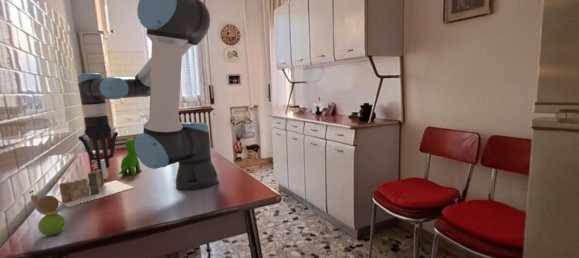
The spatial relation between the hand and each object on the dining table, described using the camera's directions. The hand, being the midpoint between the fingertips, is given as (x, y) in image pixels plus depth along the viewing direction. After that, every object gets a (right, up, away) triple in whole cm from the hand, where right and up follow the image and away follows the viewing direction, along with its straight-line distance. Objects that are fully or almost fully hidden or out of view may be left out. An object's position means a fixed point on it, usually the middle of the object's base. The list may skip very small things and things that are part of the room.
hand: (105, 176), depth 117 cm
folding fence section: (0, -3, -4) cm, 5 cm away
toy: (+2, -1, +15) cm, 15 cm away
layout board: (+1, -5, -7) cm, 9 cm away
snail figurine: (+9, -9, -38) cm, 41 cm away
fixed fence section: (-1, -6, -13) cm, 14 cm away
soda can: (-7, -3, +9) cm, 12 cm away
